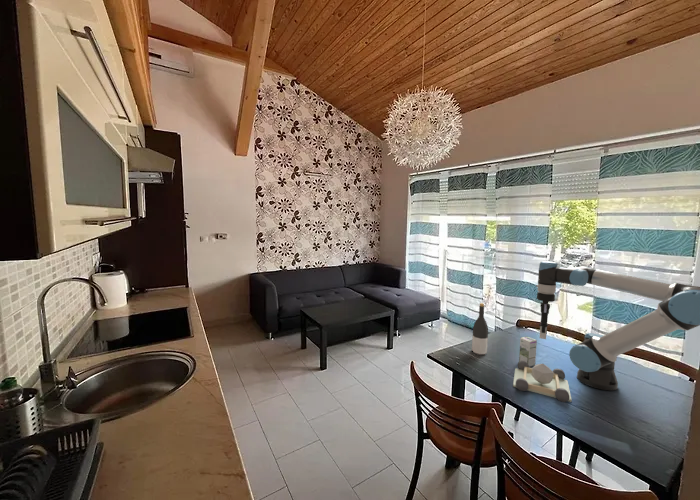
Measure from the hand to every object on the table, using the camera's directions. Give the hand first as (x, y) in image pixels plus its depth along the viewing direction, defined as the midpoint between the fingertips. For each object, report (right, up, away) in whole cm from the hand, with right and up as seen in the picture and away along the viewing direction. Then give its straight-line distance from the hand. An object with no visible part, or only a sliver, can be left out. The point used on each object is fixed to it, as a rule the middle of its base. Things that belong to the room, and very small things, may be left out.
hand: (542, 338), depth 150 cm
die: (-8, -19, -11) cm, 23 cm away
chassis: (-7, -19, -9) cm, 22 cm away
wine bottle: (-22, -16, +23) cm, 36 cm away
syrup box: (-2, -18, +11) cm, 21 cm away
